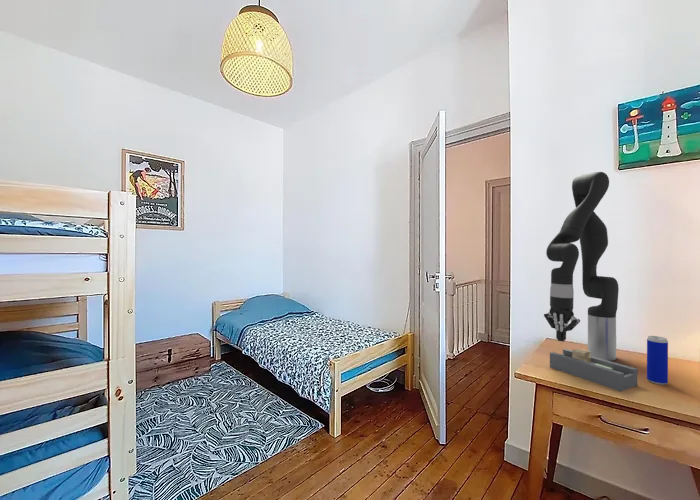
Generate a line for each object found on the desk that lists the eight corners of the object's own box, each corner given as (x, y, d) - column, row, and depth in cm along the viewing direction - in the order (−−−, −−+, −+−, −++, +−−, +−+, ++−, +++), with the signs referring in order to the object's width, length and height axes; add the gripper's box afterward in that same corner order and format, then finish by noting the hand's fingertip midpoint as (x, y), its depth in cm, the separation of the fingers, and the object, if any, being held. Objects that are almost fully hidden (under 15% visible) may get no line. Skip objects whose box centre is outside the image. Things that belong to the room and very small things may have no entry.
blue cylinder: (671, 385, 107) (672, 340, 107) (653, 384, 108) (653, 339, 108) (660, 379, 112) (660, 335, 112) (643, 378, 114) (643, 335, 113)
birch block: (579, 359, 122) (579, 348, 122) (590, 362, 118) (590, 351, 118) (572, 360, 120) (572, 349, 120) (584, 364, 116) (584, 353, 116)
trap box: (566, 362, 129) (566, 348, 129) (637, 385, 108) (637, 368, 108) (549, 367, 125) (549, 352, 125) (620, 391, 104) (620, 374, 104)
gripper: (586, 297, 121) (585, 344, 121) (551, 292, 133) (550, 335, 133) (573, 298, 118) (572, 346, 118) (538, 293, 129) (538, 337, 130)
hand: (561, 340), depth 125 cm, fingers closed
